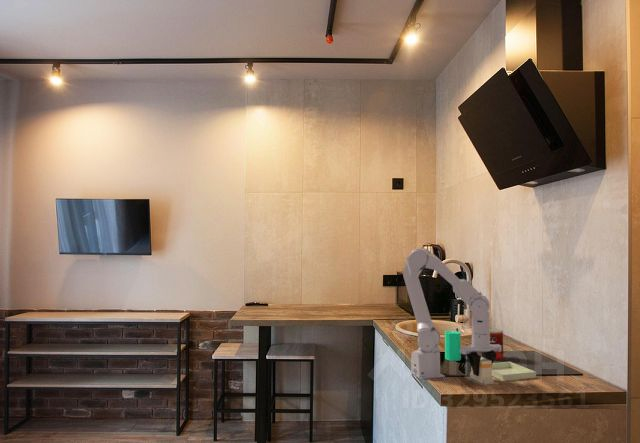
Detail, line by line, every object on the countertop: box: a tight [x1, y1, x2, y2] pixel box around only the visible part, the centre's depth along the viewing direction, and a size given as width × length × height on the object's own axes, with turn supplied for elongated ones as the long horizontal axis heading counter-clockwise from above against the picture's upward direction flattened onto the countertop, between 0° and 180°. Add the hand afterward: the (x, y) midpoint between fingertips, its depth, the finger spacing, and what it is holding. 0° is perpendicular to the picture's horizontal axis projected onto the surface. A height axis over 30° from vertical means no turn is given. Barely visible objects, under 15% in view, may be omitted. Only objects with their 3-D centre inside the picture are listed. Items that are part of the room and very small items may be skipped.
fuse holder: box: [464, 372, 500, 387], centre depth 147 cm, size 7×9×2 cm
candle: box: [444, 328, 462, 362], centre depth 176 cm, size 6×6×12 cm
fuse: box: [470, 356, 493, 384], centre depth 147 cm, size 4×6×7 cm, turn 16°
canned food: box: [490, 327, 504, 361], centre depth 178 cm, size 8×8×11 cm
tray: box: [492, 361, 537, 382], centre depth 155 cm, size 13×13×2 cm
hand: (481, 374), depth 147 cm, fingers closed on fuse, 3 cm apart
